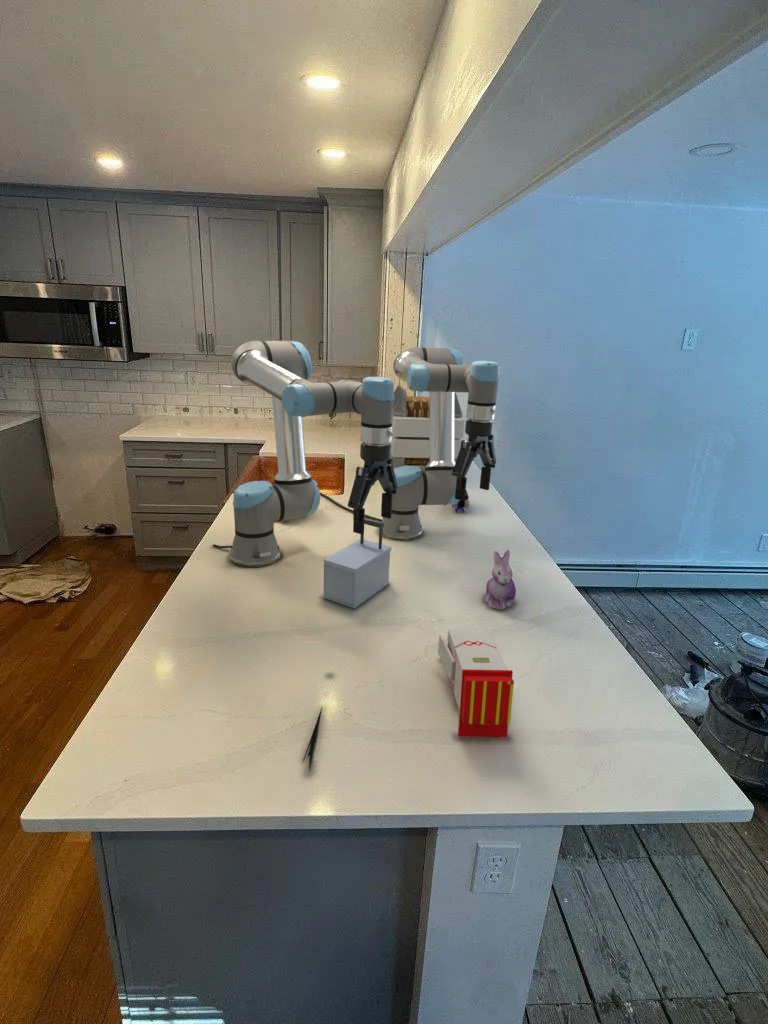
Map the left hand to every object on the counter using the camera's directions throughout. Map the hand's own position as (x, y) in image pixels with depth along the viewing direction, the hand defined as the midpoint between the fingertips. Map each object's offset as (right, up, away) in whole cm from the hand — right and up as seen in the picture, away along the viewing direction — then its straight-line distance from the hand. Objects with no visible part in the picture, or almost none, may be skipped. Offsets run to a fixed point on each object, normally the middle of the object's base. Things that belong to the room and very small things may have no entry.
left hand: (372, 524), depth 144 cm
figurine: (+35, -22, +12) cm, 42 cm away
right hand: (+28, +8, +17) cm, 34 cm away
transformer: (+20, +22, +131) cm, 134 cm away
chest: (-5, -19, +14) cm, 24 cm away
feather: (-10, -37, -36) cm, 52 cm away
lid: (-4, -9, +11) cm, 15 cm away
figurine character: (+33, +5, +84) cm, 91 cm away
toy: (+21, -34, -26) cm, 48 cm away
